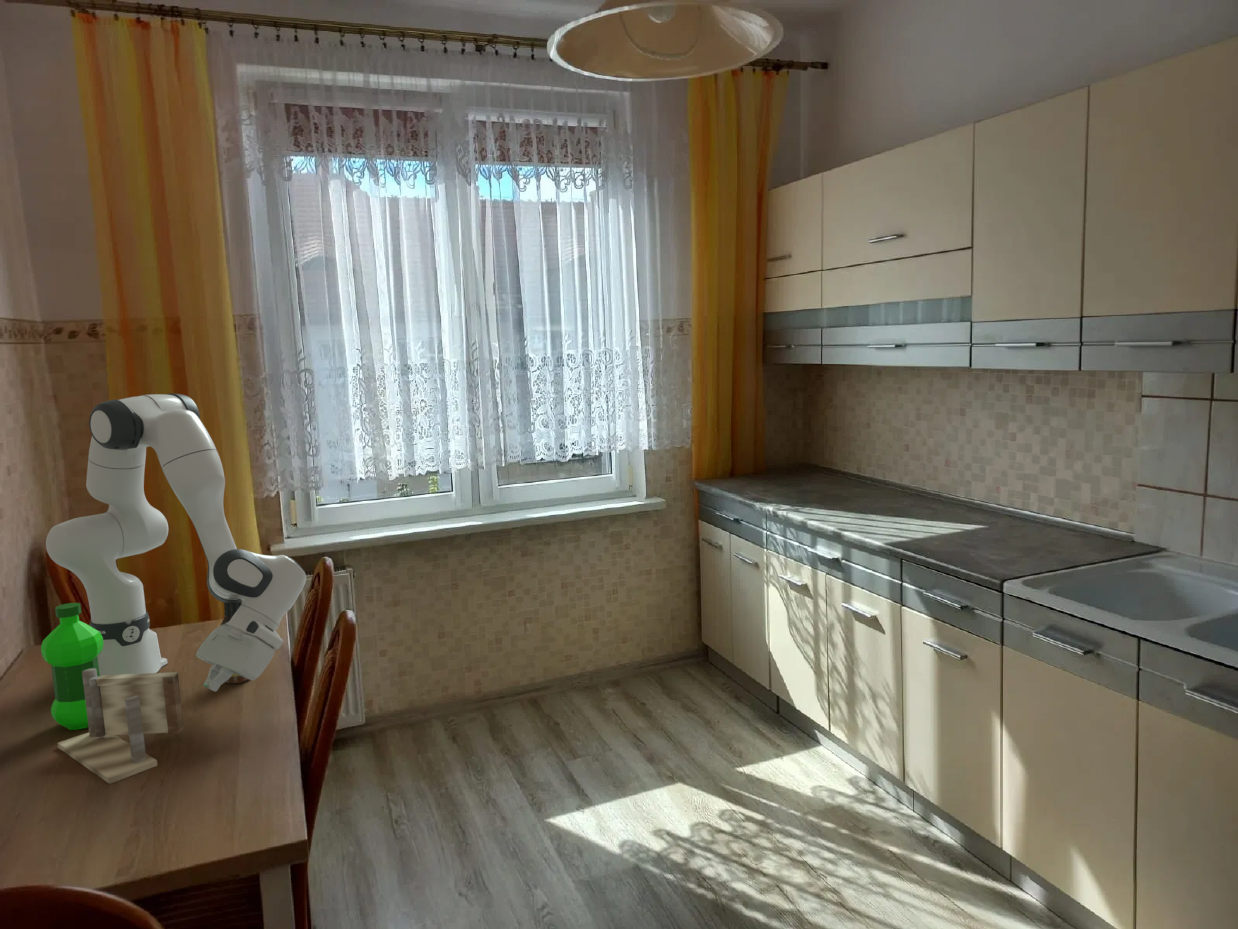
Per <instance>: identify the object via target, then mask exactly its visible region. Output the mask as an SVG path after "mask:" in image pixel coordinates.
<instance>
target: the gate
mask: <svg viewBox="0 0 1238 929" xmlns="http://www.w3.org/2000/svg"><path fill="white" fill-rule="evenodd" d="M179 678H180V677H179V672H178V671H177V672H176V671H174V672H173V671H172V672H170V671H169V672H157V673H146V674H122V675H102V676H101V677H99V676H98V677H93V678H90V679H89V683H90V691H91V700H92V708H93V716H94V725H95V733H96V737H103V736H106V735H116V736H120V735H125V736H126V735H129V734H128V725H127V716H126V707H125V699H126V698H129V697H133V696H136V695H137V696H139V699H140V708H141V717H142V726H143V735H145V734H146V735H148V734H165V733H166V734H168V735H174V734H175V735H176V734H180V733H181V732H183V730H184V729H185V726H184V719H183V708H182V699H181V698H182V697H181V689H180V681H179Z"/></svg>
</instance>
